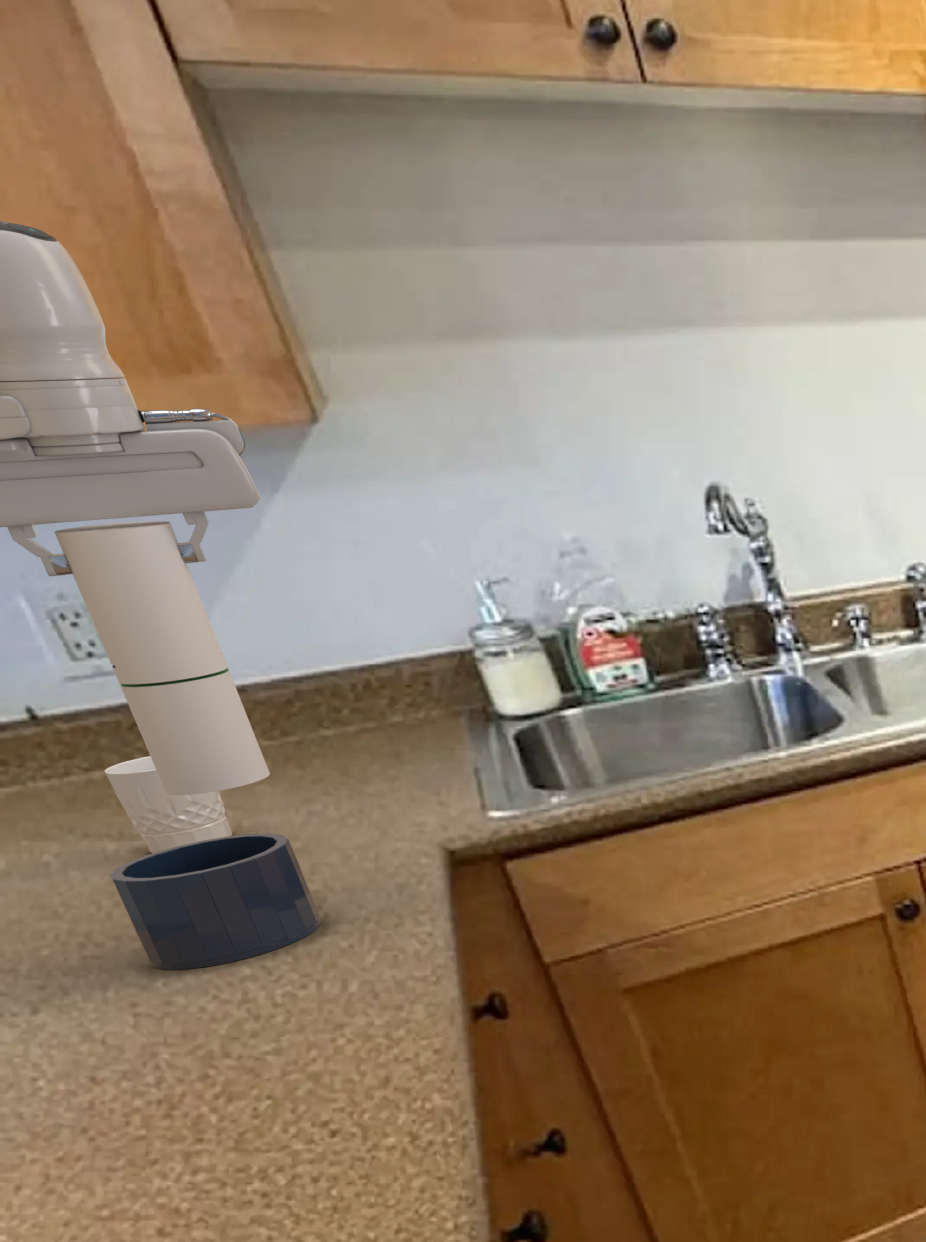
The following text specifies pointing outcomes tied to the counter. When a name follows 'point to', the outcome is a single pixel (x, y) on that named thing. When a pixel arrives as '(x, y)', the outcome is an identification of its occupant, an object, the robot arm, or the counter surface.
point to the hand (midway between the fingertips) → (129, 568)
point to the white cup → (165, 808)
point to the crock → (216, 900)
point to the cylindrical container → (164, 655)
